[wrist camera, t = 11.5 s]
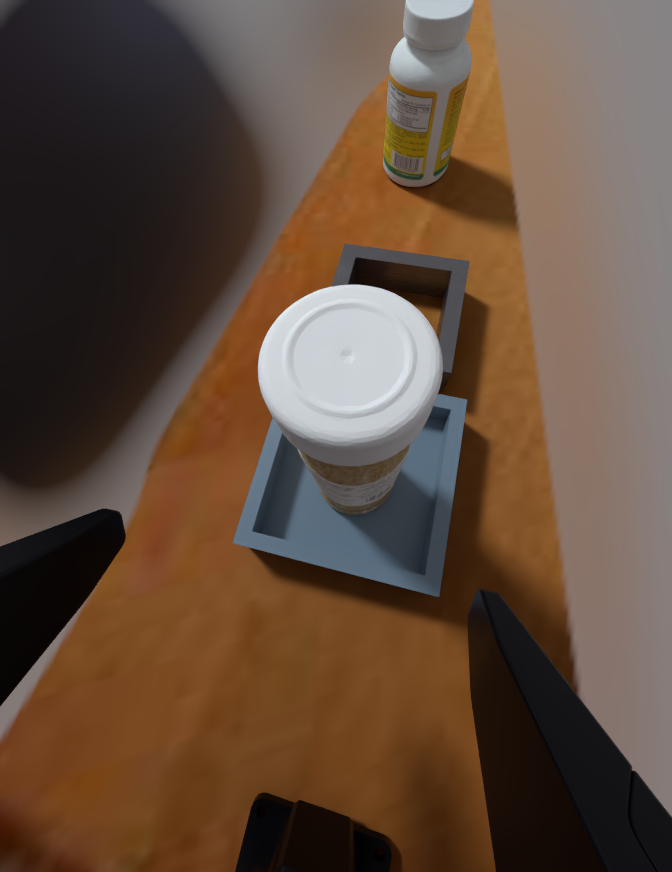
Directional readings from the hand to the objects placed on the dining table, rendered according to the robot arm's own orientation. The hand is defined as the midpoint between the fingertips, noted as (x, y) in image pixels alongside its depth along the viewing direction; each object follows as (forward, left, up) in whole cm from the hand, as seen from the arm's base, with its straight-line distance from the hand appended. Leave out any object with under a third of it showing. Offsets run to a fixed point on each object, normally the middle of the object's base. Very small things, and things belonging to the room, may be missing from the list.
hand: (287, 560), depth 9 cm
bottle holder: (+16, 0, -12) cm, 20 cm away
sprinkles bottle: (+5, 0, -12) cm, 13 cm away
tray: (+5, 0, -12) cm, 13 cm away
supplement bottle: (+32, +1, -13) cm, 34 cm away
